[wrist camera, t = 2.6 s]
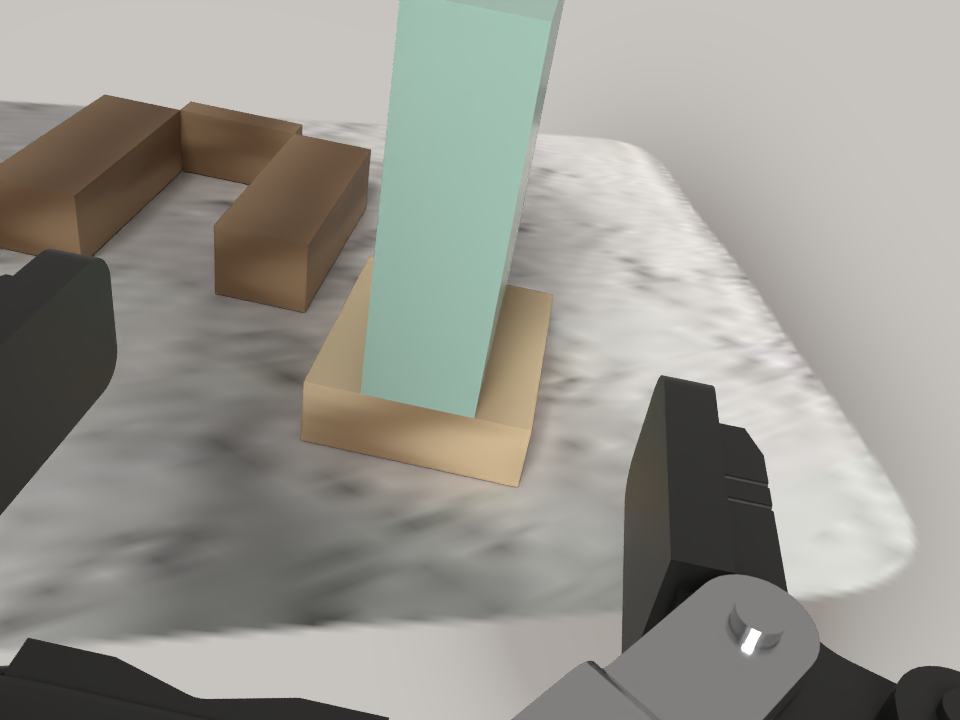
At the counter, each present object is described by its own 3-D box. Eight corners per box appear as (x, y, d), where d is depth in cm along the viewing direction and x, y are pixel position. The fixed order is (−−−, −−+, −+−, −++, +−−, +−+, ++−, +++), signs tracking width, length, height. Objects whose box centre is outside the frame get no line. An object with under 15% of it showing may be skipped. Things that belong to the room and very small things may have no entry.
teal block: (360, 393, 24) (400, -9, 18) (415, 265, 29) (459, -71, 24) (474, 418, 23) (551, 21, 18) (507, 285, 29) (573, -48, 23)
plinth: (301, 440, 25) (303, 381, 24) (364, 308, 30) (369, 256, 29) (518, 487, 25) (531, 430, 23) (541, 345, 30) (553, 294, 29)
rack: (-7, 246, 30) (-19, 176, 29) (121, 146, 37) (116, 86, 36) (304, 312, 30) (308, 245, 28) (371, 198, 37) (377, 140, 36)
